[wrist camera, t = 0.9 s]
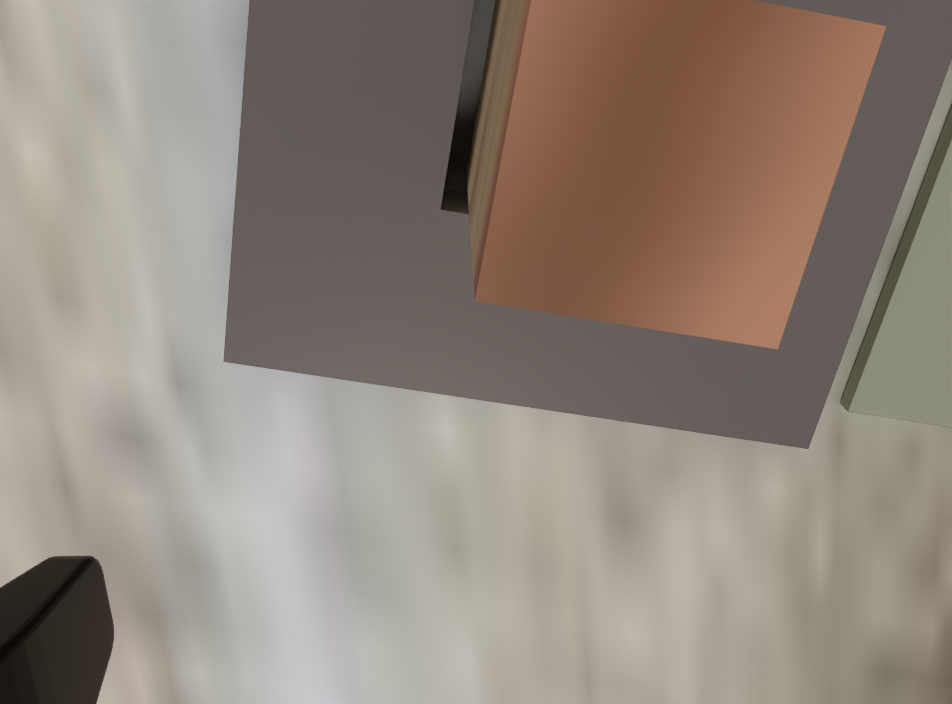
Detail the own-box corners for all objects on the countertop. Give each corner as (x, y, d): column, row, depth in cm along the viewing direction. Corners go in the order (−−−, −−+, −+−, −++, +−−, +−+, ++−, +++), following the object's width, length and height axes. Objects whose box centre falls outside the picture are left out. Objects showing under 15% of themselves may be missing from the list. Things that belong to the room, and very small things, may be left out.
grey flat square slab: (991, -200, 18) (1054, -221, 16) (779, 411, 23) (808, 448, 21) (298, -355, 16) (278, -398, 15) (242, 329, 22) (223, 361, 20)
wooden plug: (698, 7, 19) (887, 25, 11) (648, 203, 21) (778, 349, 12) (501, -32, 19) (538, -43, 10) (466, 171, 20) (474, 300, 12)
